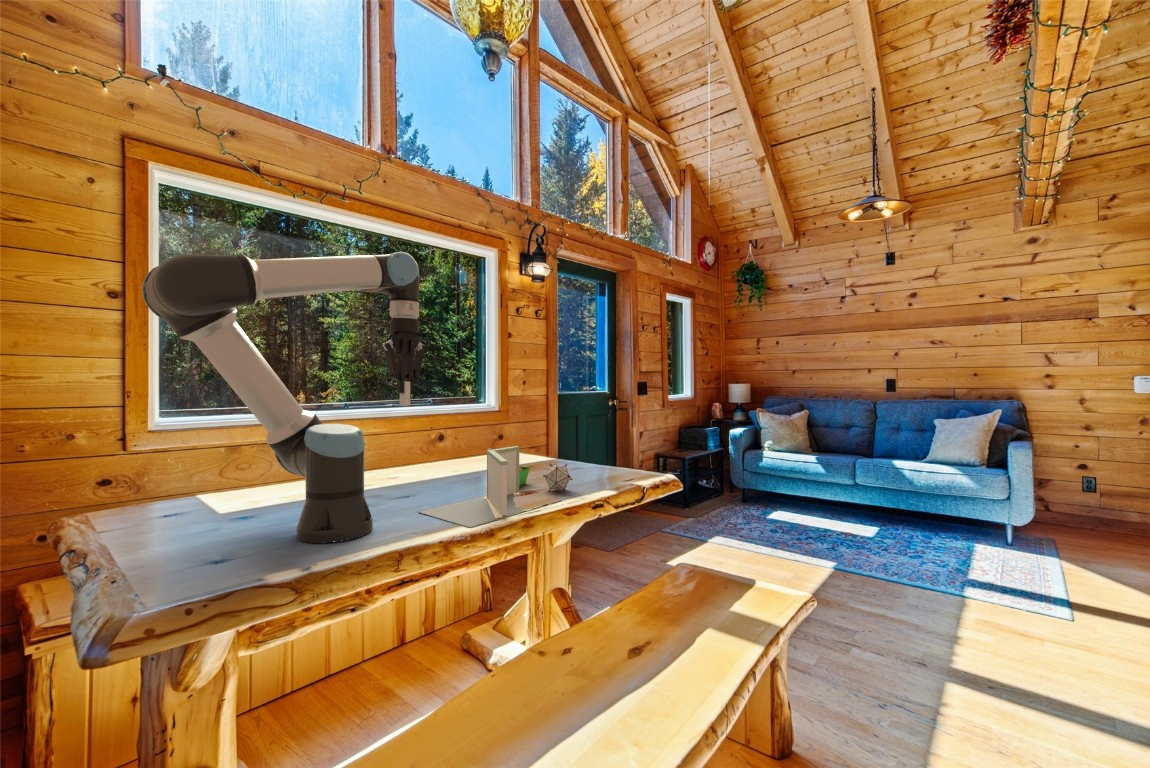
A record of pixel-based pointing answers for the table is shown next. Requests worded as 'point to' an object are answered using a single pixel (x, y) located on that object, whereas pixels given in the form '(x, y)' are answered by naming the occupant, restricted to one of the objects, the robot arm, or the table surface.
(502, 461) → the beige flat upright board
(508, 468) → the fixed fence panel
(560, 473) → the game die
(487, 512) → the board
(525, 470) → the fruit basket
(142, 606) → the table surface
